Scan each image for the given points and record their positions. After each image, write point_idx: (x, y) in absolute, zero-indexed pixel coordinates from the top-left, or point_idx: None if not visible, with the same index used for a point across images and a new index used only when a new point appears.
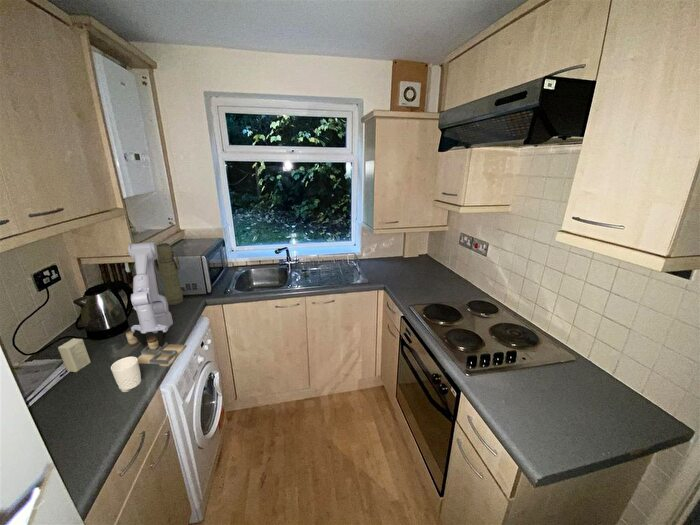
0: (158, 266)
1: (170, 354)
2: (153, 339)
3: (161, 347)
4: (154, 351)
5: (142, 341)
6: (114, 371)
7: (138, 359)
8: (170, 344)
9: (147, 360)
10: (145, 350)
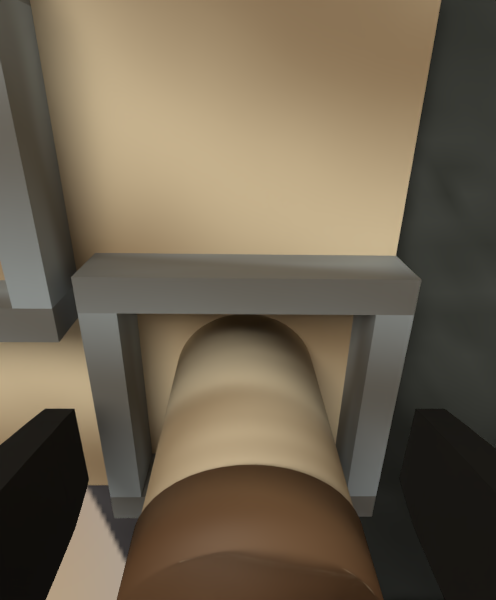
0: None
1: None
2: (146, 595)
3: (97, 404)
4: (139, 292)
5: (491, 509)
6: None
7: (375, 103)
8: (101, 484)
9: (168, 75)
10: (364, 333)
